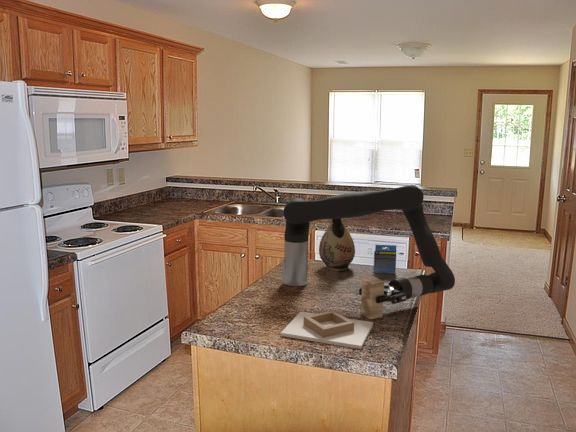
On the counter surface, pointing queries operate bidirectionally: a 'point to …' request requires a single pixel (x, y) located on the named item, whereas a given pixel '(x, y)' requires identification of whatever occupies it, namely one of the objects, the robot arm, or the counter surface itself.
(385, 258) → the label tape cartridge
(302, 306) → the counter surface
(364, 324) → the socket board
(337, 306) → the counter surface
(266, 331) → the counter surface
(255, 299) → the counter surface
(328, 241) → the ceramic jug
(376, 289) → the maple peg
